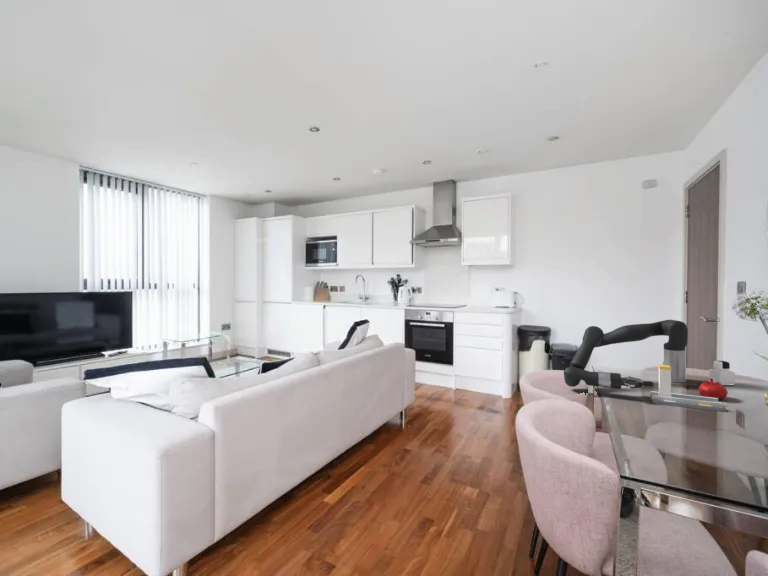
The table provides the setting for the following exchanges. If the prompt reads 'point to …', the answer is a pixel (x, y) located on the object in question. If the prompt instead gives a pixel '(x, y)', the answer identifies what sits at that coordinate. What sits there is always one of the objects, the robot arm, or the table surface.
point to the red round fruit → (713, 390)
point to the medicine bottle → (722, 373)
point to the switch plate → (688, 401)
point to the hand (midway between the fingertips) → (653, 384)
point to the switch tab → (664, 380)
